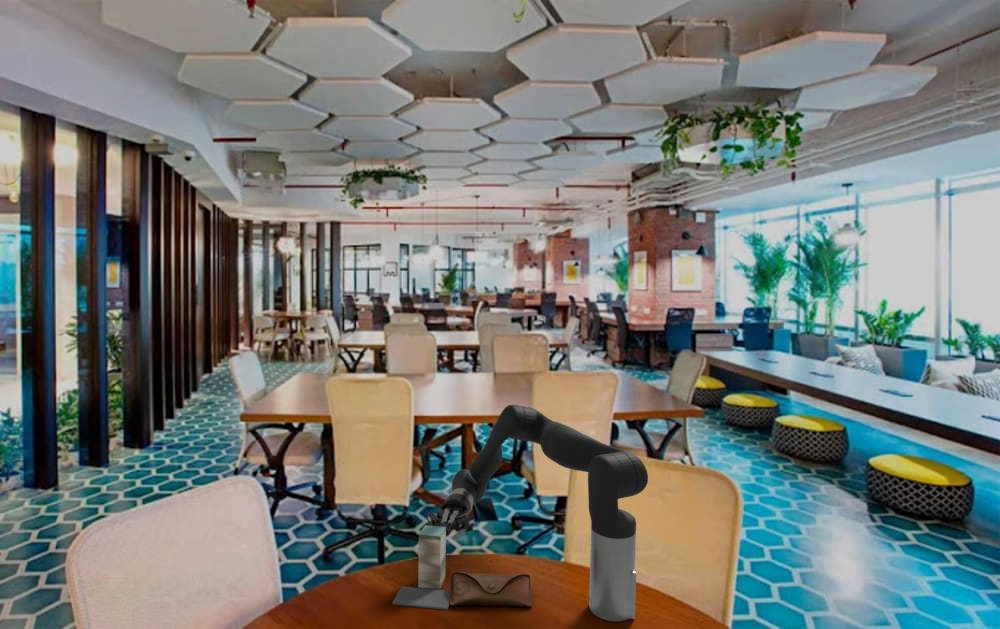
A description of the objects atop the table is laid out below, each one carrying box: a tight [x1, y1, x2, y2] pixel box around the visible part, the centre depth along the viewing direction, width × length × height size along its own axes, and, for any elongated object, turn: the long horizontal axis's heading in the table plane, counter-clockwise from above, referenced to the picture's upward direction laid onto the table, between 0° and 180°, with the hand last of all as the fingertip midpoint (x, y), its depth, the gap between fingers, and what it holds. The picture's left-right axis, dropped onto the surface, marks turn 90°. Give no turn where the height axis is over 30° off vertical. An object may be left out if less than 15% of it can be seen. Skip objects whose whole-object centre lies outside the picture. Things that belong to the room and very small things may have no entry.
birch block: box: [417, 525, 447, 590], centre depth 126 cm, size 5×5×12 cm
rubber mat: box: [391, 586, 451, 611], centre depth 119 cm, size 12×6×1 cm, turn 82°
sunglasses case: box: [449, 571, 533, 608], centre depth 120 cm, size 18×7×7 cm, turn 93°
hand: (442, 533), depth 136 cm, fingers closed
